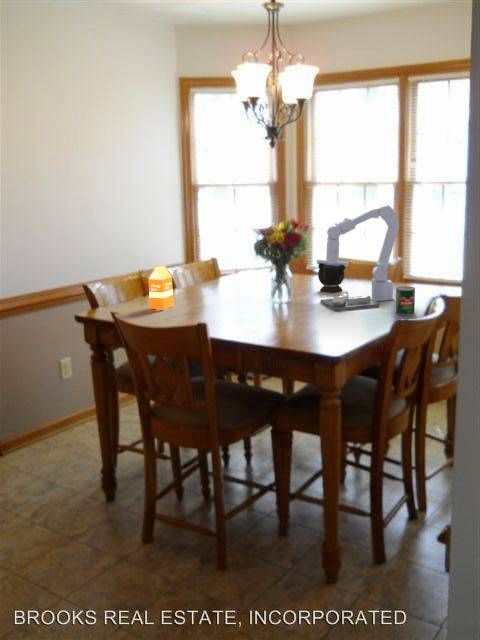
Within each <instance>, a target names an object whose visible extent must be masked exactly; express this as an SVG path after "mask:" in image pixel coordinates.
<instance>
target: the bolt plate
mask: <svg viewBox="0 0 480 640" xmlns="http://www.w3.org/2000/svg"><path fill="white" fill-rule="evenodd" d="M371 297H372V296H371V295H370V294H367V295H366V296H364V295H361V296H349V298H347V300H346V296H345V295H343V294H335V295H333V297H332V298H325V299H320V302H319V303H320V304H322V305H323V306H325V307H327V308H329V309H331V310H333V311H334V312H342V311H352V310H363V309H364V310H365V309H374V308H380V303H379V302H377V301H373V300H371Z"/></svg>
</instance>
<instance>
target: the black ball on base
mask: <svg viewBox="0 0 480 640" xmlns="http://www.w3.org/2000/svg"><path fill="white" fill-rule="evenodd" d="M338 267H339V266H336V265H326V270H325V280H322V275H321V272H320V269H319V268H318V271H317V277H318V280H319V282H320V284H321V285H322V287H320V290H319V291H321V292H320V293H323V294H336V293H337V294H339V293H342V292H343V288H342V287H341V286H340V285H341V284H342V283H343V281H344V280H345V279H344V278H345V271H344V272H343V274H342V277H341V281H338Z"/></svg>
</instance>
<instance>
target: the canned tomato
mask: <svg viewBox="0 0 480 640" xmlns="http://www.w3.org/2000/svg"><path fill="white" fill-rule="evenodd" d="M415 290H416V287H413V286H406V285H405V286H398V287H396V289H395V314H396V315H398V316H412V315H415V302H416V301H415V300H416V299H415V297H416V291H415Z"/></svg>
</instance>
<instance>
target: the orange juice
mask: <svg viewBox="0 0 480 640" xmlns="http://www.w3.org/2000/svg"><path fill="white" fill-rule="evenodd" d="M147 281H148V292H149V293H148V294H149V296H148V297H149V307H150V308H156V309H166V308H168V307H171V306H174V307H175V304H174V291H173V290H174V288H173V276H172V274H170V272H169V271H168V269H167V267H166V266H165V265H164V264H163V265H159V266H156V267H154V269H153V270H152V271H151V274H150V276H149V277H148V279H147ZM150 308H149V309H150Z"/></svg>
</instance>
